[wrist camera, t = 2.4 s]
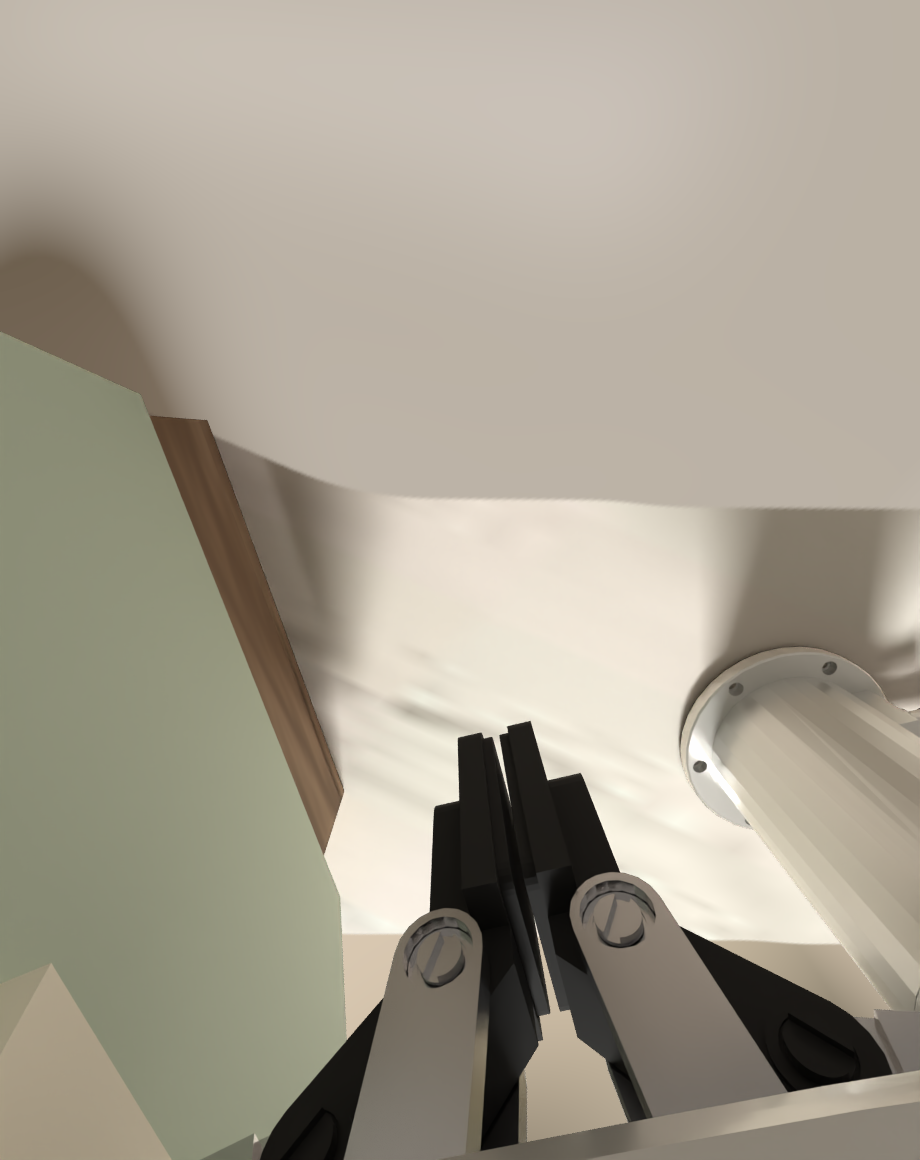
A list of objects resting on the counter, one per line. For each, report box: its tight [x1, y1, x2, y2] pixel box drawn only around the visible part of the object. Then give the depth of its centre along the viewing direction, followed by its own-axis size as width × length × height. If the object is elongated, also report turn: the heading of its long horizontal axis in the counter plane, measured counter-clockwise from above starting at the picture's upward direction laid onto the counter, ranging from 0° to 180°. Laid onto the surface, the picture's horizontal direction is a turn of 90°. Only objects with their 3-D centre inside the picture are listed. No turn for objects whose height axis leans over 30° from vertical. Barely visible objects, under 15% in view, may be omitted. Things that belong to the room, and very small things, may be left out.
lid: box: [0, 331, 347, 1160], centre depth 14 cm, size 19×25×2 cm
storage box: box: [150, 416, 344, 855], centre depth 27 cm, size 18×24×8 cm
